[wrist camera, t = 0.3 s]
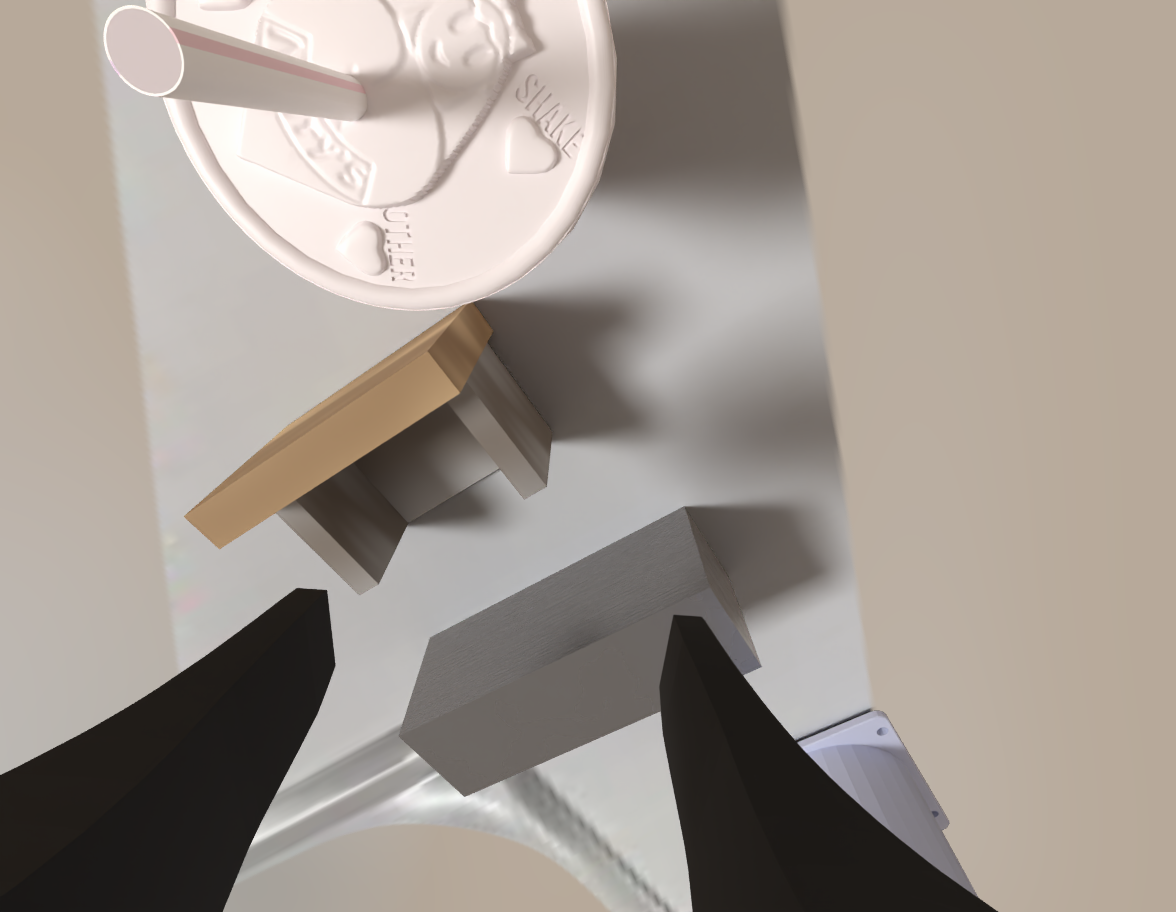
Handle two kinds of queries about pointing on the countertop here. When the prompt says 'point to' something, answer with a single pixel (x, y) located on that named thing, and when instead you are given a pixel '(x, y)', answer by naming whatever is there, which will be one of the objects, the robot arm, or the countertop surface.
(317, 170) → the smoothie
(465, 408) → the bracket
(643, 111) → the countertop surface
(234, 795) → the robot arm
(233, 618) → the countertop surface
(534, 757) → the grey rectangular block
